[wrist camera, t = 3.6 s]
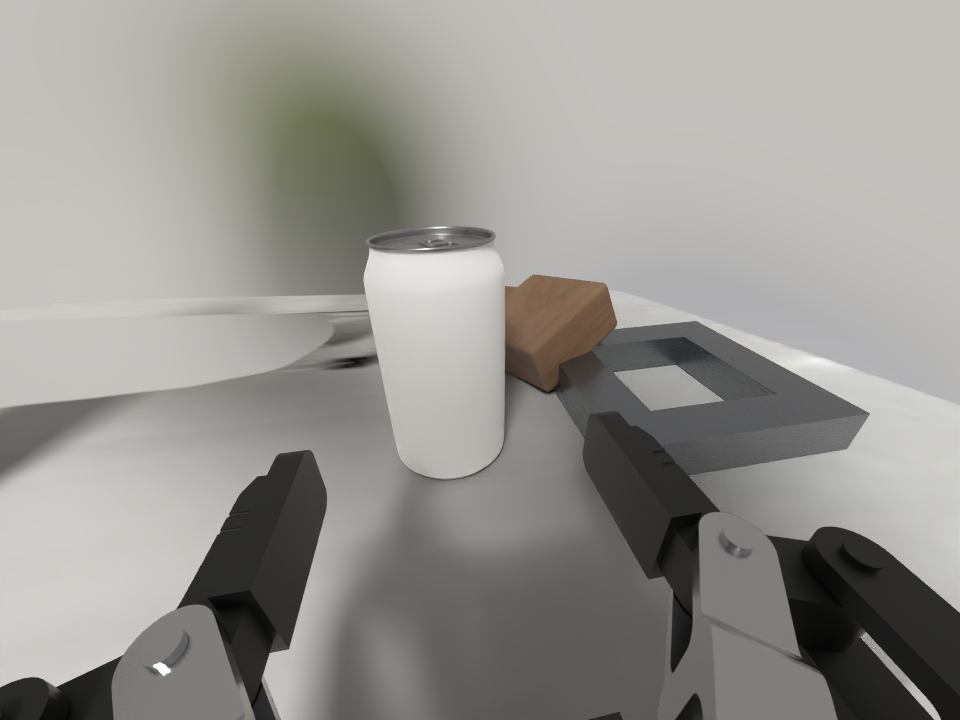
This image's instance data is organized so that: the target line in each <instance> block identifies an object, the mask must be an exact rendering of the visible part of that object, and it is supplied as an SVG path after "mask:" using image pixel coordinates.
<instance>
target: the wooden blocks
mask: <svg viewBox="0 0 960 720" xmlns="http://www.w3.org/2000/svg"><path fill="white" fill-rule="evenodd" d="M616 325H617V321H616V317H615V313H614V310H613V306H612V302H611V299H610V295H609V291H608V288H607V286H606V285H605V284H604V283H598V282H590V281H582V280H574V279H566V278H558V277H550V276H542V275H532V276H530V277H529V278H528V279H527V280H525V281H524V282H523V283H522V284H521V285H520V286H518V287H509V286H505V371H507V372H509V373H511V374H513V375H515V376H517V377H519V378H521V379H523V380H525V381H527V382H529V383H531V384H533V385H535V386H537V387H538V388H540V389H542V390H544V391H547V392H549V391H551V390H553V389H554V388H555V387H556V386H557V385H558V379H559V364H560V363H562V362H565V361H567V360H570V359H572V358H575V357H577V356H580V355H582V354H585V353H587V352H589V351H592V350H593V349H594V348H595V347H596V346H597V345H598V344H599V343H600V342H601V341H602V340H603V339H604V338H605V337H606V336H607V335H608V334H609V333H610V332H611V331H612V330H613V329H614V328H615V327H616Z"/></svg>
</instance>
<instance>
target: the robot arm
mask: <svg viewBox="0 0 960 720" xmlns="http://www.w3.org/2000/svg"><path fill="white" fill-rule="evenodd" d="M583 460H584V464H585V468H586V470H587V472H588V474H589V476H590V478H591V479H592V481H593V483H594V485H595V486H596V488H597V490H598V492H599V493H600V495H601V497H602V499H603V501H604V502H605V504H606V506H607V508H608V509H609V511H610V513H611V515H612V516H613V518H614V520H615V522H616V523H617V525H618V527H619V529H620V530H621V532H622V534H623V536H624V538H625V539H626V541H627V543H628V545H629V546H630V548H631V550H632V552H633V553H634V555H635V557H636V559H637V560H638V562H639V564H640V566H641V568H642V569H643V571H644V573H645V575H646V576H647V578H648V579H652V578H657V577H662V576H665V578H666V580H667V581H668V583H669V585H670V586H671V587H670V590H669V595H668V615H667V636H666V656H665V674H664V682H663V688H662V692H661V696H660V701H659V706H658V713H657V720H837V719H838V720H934V719H933V718H932V717H931V716H930V715H929V714H928V712H927V711H926V710H925V709H924V708H923V707H922V706H921V705H920V704H919V702H918V701H917V700H916V699H915V698H914V697H913V696H912V694H911V693H910V692H909V691H908V690H907V689H906V688H905V687H904V686H903V684H902V683H901V682H900V681H899V680H898V679H897V678H896V677H895V676H894V674H893V673H892V672H891V671H890V670H889V669H888V668H887V667H886V666H885V664H884V663H883V662H882V661H881V660H880V659H879V658H878V657H877V656H876V654H875V653H874V652H873V651H872V650H871V649H870V648H869V647H868V645H867V644H866V643H865V642H864V641H863V640H862V639H861V638H860V637H861V636H862V635H863V634H864V633H865V632H867V633H868V634H869V635H870V637H871V638H872V639H873V640H874V641H875V642H876V643H877V644H878V645H879V646H880V647H881V649H882V650H883V651H884V652H885V653H886V654H887V655H888V656H889V657H890V658H891V659H892V660H893V662H894V663H895V664H896V665H897V666H898V667H899V668H900V669H901V670H902V671H903V672H904V673H905V675H906V676H907V677H908V678H909V679H910V680H911V681H912V682H913V683H914V684H915V685H916V687H917V688H918V689H919V690H920V691H921V692H922V693H923V694H924V695H925V696H926V697H927V699H928V700H929V701H930V702H931V704H932V705H933V706H934V707H935V709H936V711H937V712H938V714H939V716H940V718H941V720H960V613H959V612H958V611H957V610H956V609H954V608H953V607H952V606H951V605H950V604H949V603H947V602H946V601H945V600H944V599H943V598H942V597H940V596H939V595H938V594H937V593H936V592H935V591H933V590H932V589H931V588H930V587H929V586H928V585H926V584H925V583H924V582H923V581H922V580H920V579H919V578H918V577H917V576H916V575H915V574H913V573H912V572H911V571H910V570H909V569H908V568H906V567H905V566H904V565H903V564H902V563H901V562H899V561H898V560H897V559H896V558H895V557H894V556H892V555H891V554H890V553H889V552H887V551H886V550H885V549H884V548H882V547H881V546H879V545H878V544H876V543H875V542H873V541H871V540H869V539H868V538H866V537H864V536H862V535H860V534H857V533H855V532H852V531H849V530H846V529H843V528H838V527H822V528H820V529H818V530H817V531H816V532H815V533H814V534H813V536H812V537H811V539H810V540H809V541H803V540H796V539H789V538H782V537H774V536H768V535H765V534H764V533H763V532H762V531H760V530H759V529H758V528H757V527H755V526H754V525H753V524H751V523H750V522H748V521H746V520H744V519H742V518H740V517H738V516H735V515H732V514H729V513H723V512H720V511H719V509H718V508H717V507H716V506H715V505H714V504H713V503H712V502H711V501H710V500H709V498H708V497H707V496H706V495H705V494H704V493H703V492H702V491H701V489H700V488H699V487H698V486H697V485H696V484H695V483H694V482H693V481H692V479H691V478H690V477H689V476H688V475H687V474H686V473H685V472H684V470H683V469H682V468H681V467H680V466H679V465H678V464H676V463H675V460H674V459H673V458H672V457H671V456H670V455H669V454H668V453H666V452H665V449H664V448H663V447H662V446H661V445H660V443H659V442H658V441H657V440H656V439H655V438H654V437H653V436H652V435H650V434H649V433H647V432H646V431H644V430H643V429H641V428H639V427H638V426H630V425H629V424H628V423H627V422H626V420H625V419H624V418H623V417H622V416H621V414H620V413H619V412H617V411H609V412H602V413H594V414H590V416H589V418H588V423H587V429H586V435H585V442H584V448H583ZM326 506H327V493H326V488H325V485H324V482H323V480H322V477H321V474H320V471H319V469H318V466H317V463H316V460H315V458H314V455H313V453H312V452H311V451H310V450H304V451H297V452H289V453H281V454H279V455H277V457H276V458H275V460H274V462H273V464H272V466H271V468H270V470H269V472H268V474H267V475H266V476H259V477H257V478H256V479H255V480H254V481H253V482H252V483H251V484H250V485H249V486H248V487H247V488H246V489H245V490H244V491H243V492H242V493H241V494H240V495H239V497H238V499H237V500H236V502H235V504H234V506H233V508H232V509H231V511H230V513H229V514H230V516H229V517H227V519H226V520H225V522H224V524H223V526H222V528H221V530H220V531H221V532H220V534H218V535H217V537H216V539H215V541H214V542H213V544H212V546H211V548H210V550H209V552H208V553H207V555H206V557H205V559H204V561H203V563H202V564H201V566H200V568H199V570H198V572H197V573H196V575H195V577H194V579H193V581H192V583H191V584H190V586H189V588H188V590H187V592H186V594H185V595H184V597H183V599H182V601H181V602H180V604H179V606H178V607H177V609H176V610H174V611H172V612H170V613H168V614H166V615H165V616H163V617H161V618H160V619H158V620H157V621H156V622H154V623H153V624H152V625H150V626H149V627H148V628H147V629H146V630H145V631H143V632H142V633H141V634H140V635H139V636H138V637H137V638H136V640H135V641H134V642H133V643H132V644H131V645H130V647H129V648H128V649H127V651H126V652H125V654H124V655H122V656H120V657H119V658H117V659H114V660H112V661H110V662H108V663H106V664H104V665H102V666H100V667H98V668H96V669H93V670H91V671H89V672H87V673H85V674H83V675H81V676H79V677H77V678H74V679H72V680H70V681H68V682H66V683H64V684H62V685H60V686H58V687H54V686H53V685H51V684H50V683H48V682H46V681H45V680H43V679H40V678H36V677H30V678H24V679H20V680H17V681H14V682H11V683H9V684H7V685H4V686H2V687H0V720H281V719H280V716H279V714H278V711H277V709H276V706H275V703H274V701H273V698H272V695H271V693H270V690H269V688H268V685H267V682H266V680H265V678H264V676H263V673H264V670H265V666H266V663H267V660H268V656H269V653H272V652H277V651H282V650H287V649H289V647H290V643H291V639H292V636H293V632H294V628H295V624H296V621H297V617H298V613H299V609H300V606H301V602H302V598H303V594H304V591H305V587H306V583H307V579H308V576H309V572H310V568H311V564H312V561H313V557H314V553H315V549H316V546H317V542H318V538H319V534H320V531H321V527H322V523H323V520H324V516H325V512H326ZM589 720H622V717H621V714H620V712H617V713H613V714H609V715H605V716H601V717H597V718H593V719H589Z"/></svg>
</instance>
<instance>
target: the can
mask: <svg viewBox="0 0 960 720" xmlns="http://www.w3.org/2000/svg"><path fill="white" fill-rule="evenodd" d="M494 239H495V233H494V232H493V231H490V230H487V229H482V228H475V227H459V226H441V227H422V228H411V229H402V230H396V231H390V232H385V233H381V234H377V235H374V236H372V237H370V238H368V239H367V240H366V244H367V246H368V247H369V251H370V253H369V258H368V262H367V266H366V269H365V273H364V286H365V292H366V298H367V303H368V309H369V314H370V319H371V324H372V329H373V334H374V339H375V344H376V349H377V354H378V359H379V364H380V369H381V374H382V379H383V384H384V389H385V394H386V399H387V404H388V409H389V414H390V419H391V424H392V429H393V433H394V438H395V443H396V447H397V451H398V454H399V456H400V458H401V460H402V461H403V463H404V464H405V465H406V466H407V467H408V468H410V469H411V470H413V471H414V472H416V473H418V474H421V475H423V476H426V477H429V478H433V479H441V480H451V479H459V478H463V477H467V476H470V475H472V474H474V473H476V472H478V471H480V470H482V469H483V468H485V467H486V466H487V465H489V464H490V463H491V462H492V461H493V460H494V459H495V458H496V457H497V456H498V454H499V453H500V451H501V449H502V446H503V442H504V421H505V274H504V267H503V264H502V262H501V260H500V257H499V255H498V253H497V251H496V249H495V246H494V241H493V240H494Z"/></svg>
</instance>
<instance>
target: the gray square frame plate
mask: <svg viewBox="0 0 960 720" xmlns="http://www.w3.org/2000/svg"><path fill="white" fill-rule="evenodd" d="M674 364H676V365H678V366H679V367H681V368H682V369H683V370H685V371H686V372H687V373H689V374H690V375H691V376H693V377H694V378H695V379H697V380H698V381H700V382H701V383H702V384H704V385H705V386H706V387H708V388H709V389H710V390H712V391H713V392H714V393H716V394H717V395H718V396H720V397H721V398H723V399H724V400H725V401H722V402H714V403H707V404H700V405H692V406H685V407H678V408H670V409H663V410H656V411H650V410H649V409H648V408H647V407H646V406H645V405H644V404H643V403H642V402H641V401H640V400H639V399H638V398H637V397H636V396H635V395H634V394H633V393H632V392H631V391H630V390H629V389H628V388H627V387H626V386H625V384H624V383H623V382H622V381H621V380H620V379H619V378H618V377H617V376H616V375H615V374H614V373H613V372H615V371H624V370H632V369H641V368H649V367H657V366H666V365H674ZM554 391H555V392H556V394H557V396H558V397H559V399H560V400H561V402H562V403H563V405H564V407H565V408H566V410H567V411H568V413H569V414H570V416H571V418H572V419H573V421H574V422H575V424H576V425H577V427H578V429H579V430H580V432H581V433H582V435H583V437H584V438H585V435H586V429H587V423H588V418H589V416H590V414H594V413H602V412H609V411H617V412H619V413H620V414H621V416H622V417H623V418H624V419H625V420H626V422H627V423H628V424H629V425H630V426H638V427H639V428H641V429H643V430H644V431H646V432H647V433H649V434H650V435H652V436H653V437H654V438H655V439H656V440H657V441H658V442H659V443H660V445H661V446H662V447H663V448H664V449H665V452H666V453H668V454H669V455H670V456H671V457H672V458H673V459H674V460H675V463H676V464H678V465H679V466H680V467H681V468H682V469H683V470H684V472H685V473H686V474H687V475H691V474H697V473H703V472H709V471H715V470H721V469H728V468H734V467H740V466H746V465H752V464H758V463H764V462H770V461H776V460H782V459H788V458H794V457H800V456H806V455H812V454H819V453H825V452H831V451H837V450H843V449H847V448H848V446H849V445H850V443H851V442H852V440H853V439H854V437H855V436H856V434H857V433H858V431H859V430H860V428H861V427H862V425H863V424H864V422H865V421H866V419H867V418H868V416H869V415H870V413H868V412H866V411H864V410H862V409H861V408H859V407H857V406H855V405H853V404H851V403H849V402H847V401H845V400H844V399H842V398H840V397H838V396H836V395H834V394H832V393H830V392H829V391H827V390H825V389H823V388H821V387H819V386H817V385H815V384H813V383H812V382H810V381H808V380H806V379H804V378H802V377H800V376H798V375H797V374H795V373H793V372H791V371H789V370H787V369H785V368H783V367H781V366H780V365H778V364H776V363H774V362H772V361H770V360H768V359H766V358H765V357H763V356H761V355H759V354H757V353H755V352H753V351H751V350H749V349H748V348H746V347H744V346H742V345H740V344H738V343H736V342H734V341H733V340H731V339H729V338H727V337H725V336H723V335H721V334H719V333H717V332H716V331H714V330H712V329H710V328H708V327H706V326H704V325H702V324H701V323H699V322H697V321H692V322H682V323H673V324H663V325H653V326H643V327H633V328H623V329H614V330H612V331H611V332H610V333H609V334H608V335H607V336H606V337H605V338H604V339H603V340H602V341H601V342H600V343H599V344H598V345H597V346H596V347H595V348H594V349H593V350H592V351H589V352H587V353H585V354H582V355H580V356H577V357H575V358H572V359H570V360H567V361H565V362H562V363H560V364H559V379H558V385H557V386H556V387H555V388H554Z"/></svg>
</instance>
